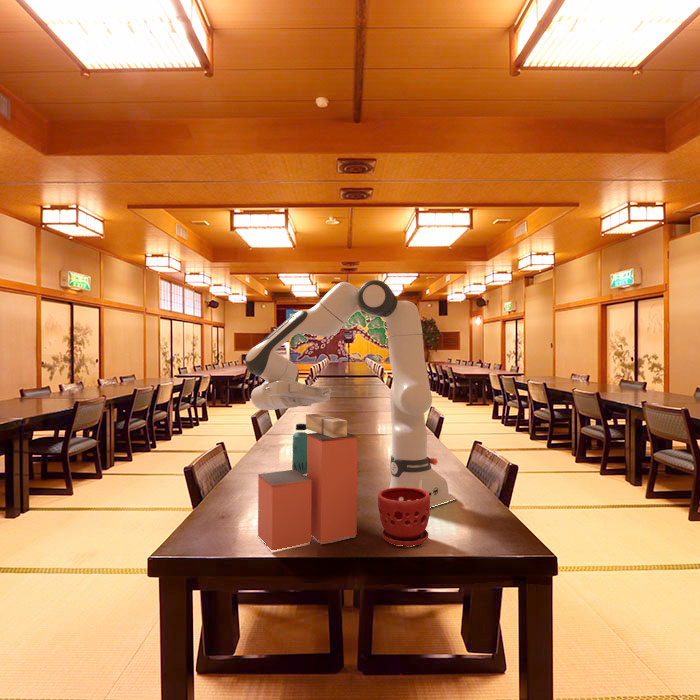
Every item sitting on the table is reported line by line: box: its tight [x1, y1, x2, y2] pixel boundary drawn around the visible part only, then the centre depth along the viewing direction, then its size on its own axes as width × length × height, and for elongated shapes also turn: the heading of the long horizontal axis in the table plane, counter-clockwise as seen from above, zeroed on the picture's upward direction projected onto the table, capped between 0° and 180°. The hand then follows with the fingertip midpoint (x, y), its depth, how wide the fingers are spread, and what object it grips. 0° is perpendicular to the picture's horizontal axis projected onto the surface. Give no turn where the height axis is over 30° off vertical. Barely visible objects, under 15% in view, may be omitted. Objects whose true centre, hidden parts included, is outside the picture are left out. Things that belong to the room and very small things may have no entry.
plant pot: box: [377, 487, 431, 546], centre depth 116 cm, size 13×13×12 cm
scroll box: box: [305, 413, 348, 438], centre depth 122 cm, size 4×17×4 cm, turn 28°
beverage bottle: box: [291, 423, 308, 476], centre depth 174 cm, size 6×7×20 cm
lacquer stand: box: [257, 432, 358, 550], centre depth 117 cm, size 22×12×26 cm, turn 118°
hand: (317, 389), depth 132 cm, fingers open, 8 cm apart
